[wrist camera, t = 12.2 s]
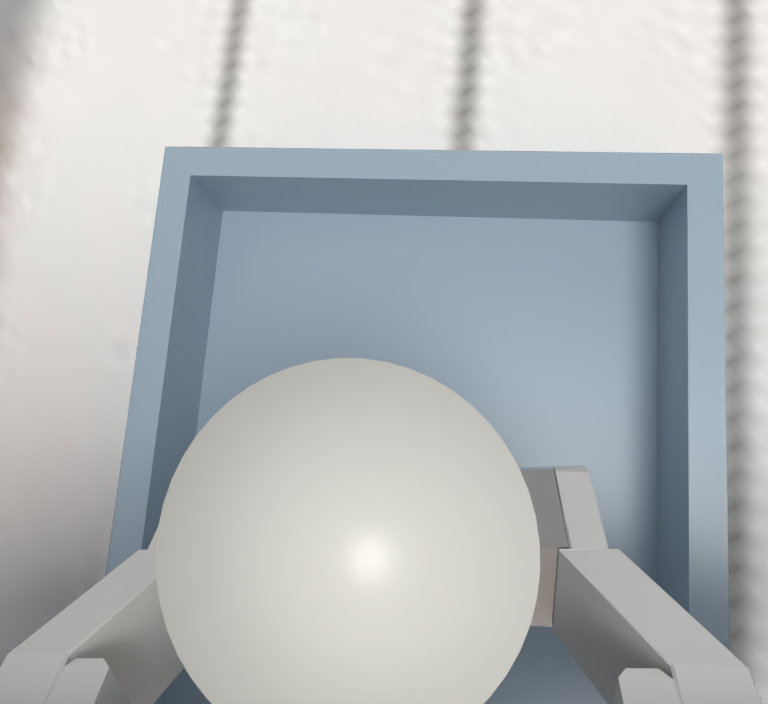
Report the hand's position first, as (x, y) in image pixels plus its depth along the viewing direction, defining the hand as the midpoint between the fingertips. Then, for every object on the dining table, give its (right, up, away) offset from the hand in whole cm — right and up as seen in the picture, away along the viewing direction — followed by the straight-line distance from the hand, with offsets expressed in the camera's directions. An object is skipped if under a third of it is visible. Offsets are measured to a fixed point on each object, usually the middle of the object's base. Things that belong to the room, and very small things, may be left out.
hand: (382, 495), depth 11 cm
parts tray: (+1, -2, +7) cm, 7 cm away
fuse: (+1, -1, +5) cm, 5 cm away
